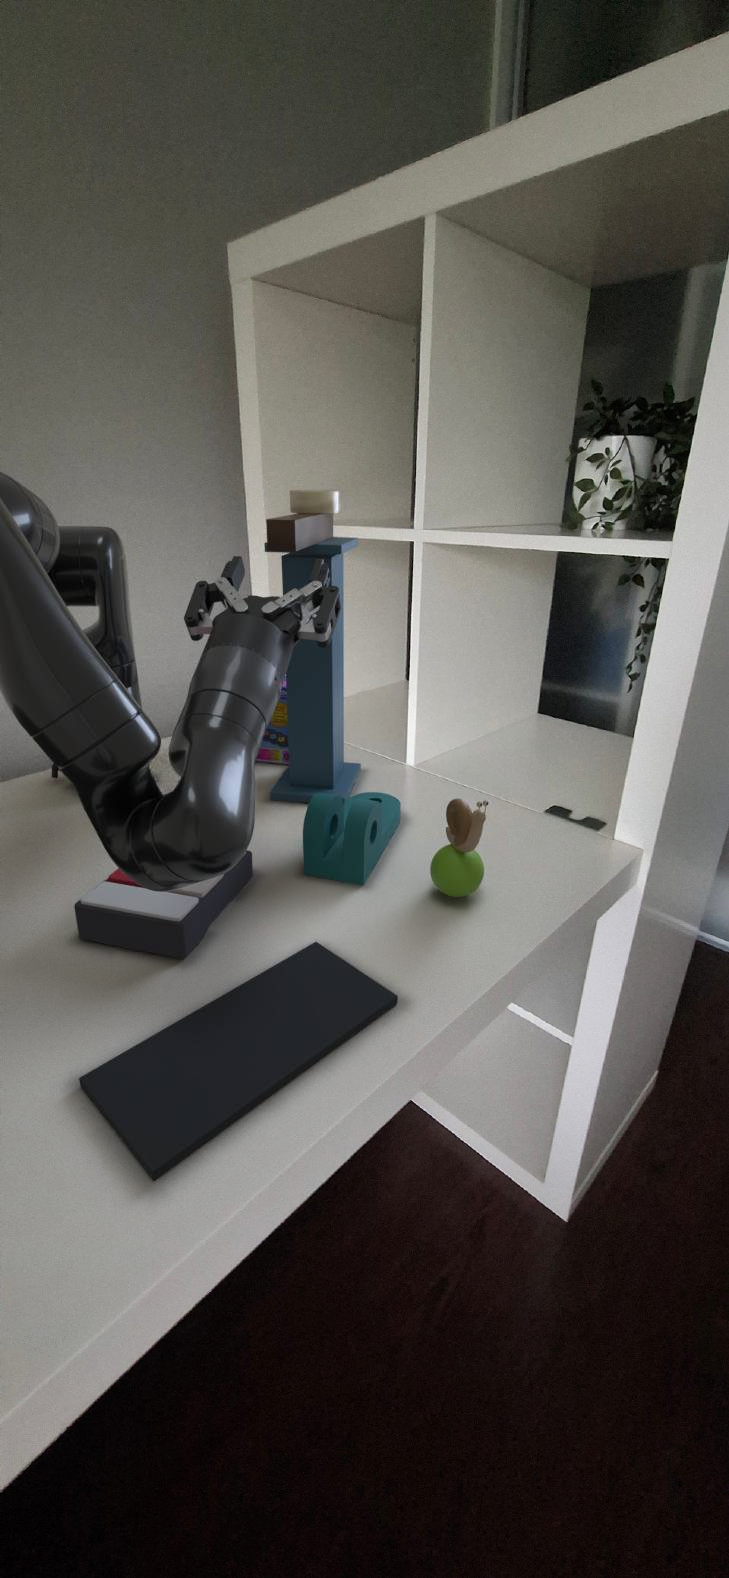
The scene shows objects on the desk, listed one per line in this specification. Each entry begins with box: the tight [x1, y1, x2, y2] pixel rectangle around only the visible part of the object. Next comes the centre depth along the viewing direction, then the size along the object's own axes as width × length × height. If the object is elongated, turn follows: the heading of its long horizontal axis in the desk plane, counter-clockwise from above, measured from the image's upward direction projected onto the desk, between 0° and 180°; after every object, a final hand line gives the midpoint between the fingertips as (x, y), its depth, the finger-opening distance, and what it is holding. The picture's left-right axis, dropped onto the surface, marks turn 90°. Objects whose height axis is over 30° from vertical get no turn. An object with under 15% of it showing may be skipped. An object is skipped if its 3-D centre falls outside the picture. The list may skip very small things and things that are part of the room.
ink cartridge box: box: [256, 675, 289, 766], centre depth 101 cm, size 10×6×14 cm, turn 79°
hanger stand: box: [264, 536, 362, 805], centre depth 89 cm, size 12×10×32 cm
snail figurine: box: [429, 798, 489, 898], centre depth 68 cm, size 5×6×12 cm
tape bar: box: [265, 489, 342, 552], centre depth 77 cm, size 18×6×5 cm, turn 170°
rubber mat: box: [78, 941, 399, 1181], centre depth 52 cm, size 22×10×1 cm, turn 135°
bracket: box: [302, 791, 402, 886], centre depth 79 cm, size 18×7×8 cm, turn 163°
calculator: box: [73, 849, 254, 959], centre depth 68 cm, size 11×4×15 cm
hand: (280, 564), depth 70 cm, fingers open, 8 cm apart
